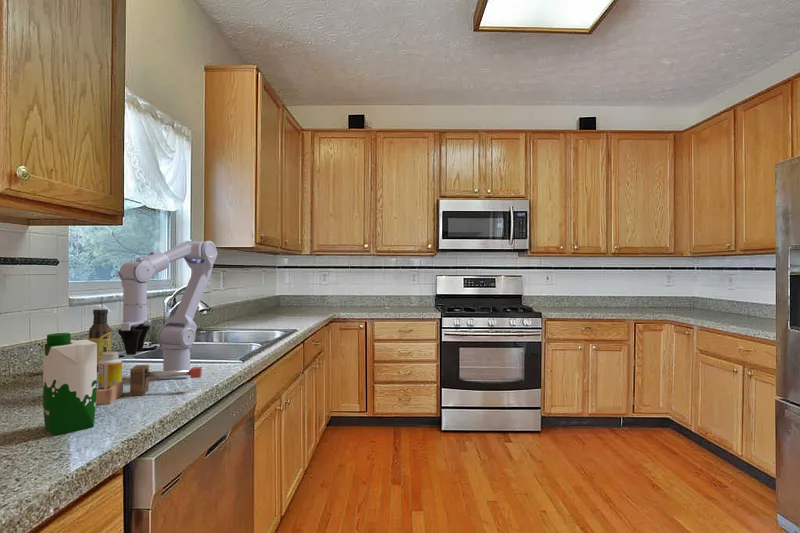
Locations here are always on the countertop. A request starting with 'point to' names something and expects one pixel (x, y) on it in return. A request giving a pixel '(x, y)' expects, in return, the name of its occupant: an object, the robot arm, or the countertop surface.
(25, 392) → the countertop surface
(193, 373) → the lock pin
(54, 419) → the milk carton
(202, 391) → the countertop surface
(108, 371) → the supplement bottle
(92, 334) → the sauce bottle
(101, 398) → the dock
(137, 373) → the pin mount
